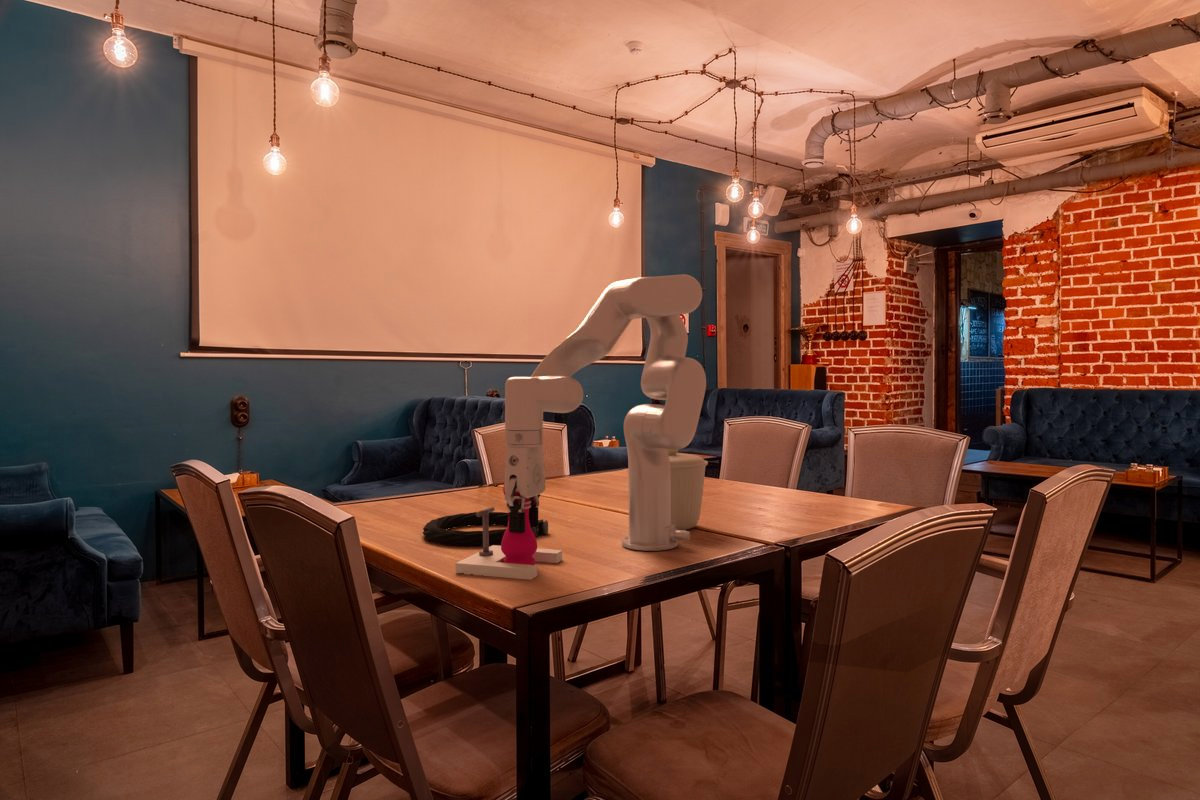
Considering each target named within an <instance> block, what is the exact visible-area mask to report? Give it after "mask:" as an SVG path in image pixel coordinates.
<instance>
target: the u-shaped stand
mask: <svg viewBox="0 0 1200 800" xmlns="http://www.w3.org/2000/svg"><path fill="white" fill-rule="evenodd" d="M476 512H477V513H476V516H477V517H480V516H482V515H483V525H482V531H483V546H482V550H480V551H478V552H476V553H474V554H472V555H470V556H467V557H465V558H464V559H461V560H458V561H457V562H455V574H458V573H464V574H463V575H470V574H473V575H472V576H480V577H481V576H482V575H483V577H494V578H503V579H505V578H506V579H517V580H527V581H528V580H530V581H531V580H533V579H534V578H536V577H538V565H536V564H535V565H526V564H513V563H504V559H505V558H506V556H505V555H504V554H503V552H502V551H501V545H490V546H489V529H490V528H489V526H490V525H489V514H488V513H490V512H495V507H494V506H490V507H486V508H484V509H482V510H479V511H476ZM532 557H533V558H535V563H537V562H538V563H550V564H558V563H559V562H562V561H563V549H549V548H538V547H537V550H536V552H535V553H534V554H533V556H532Z"/></svg>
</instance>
